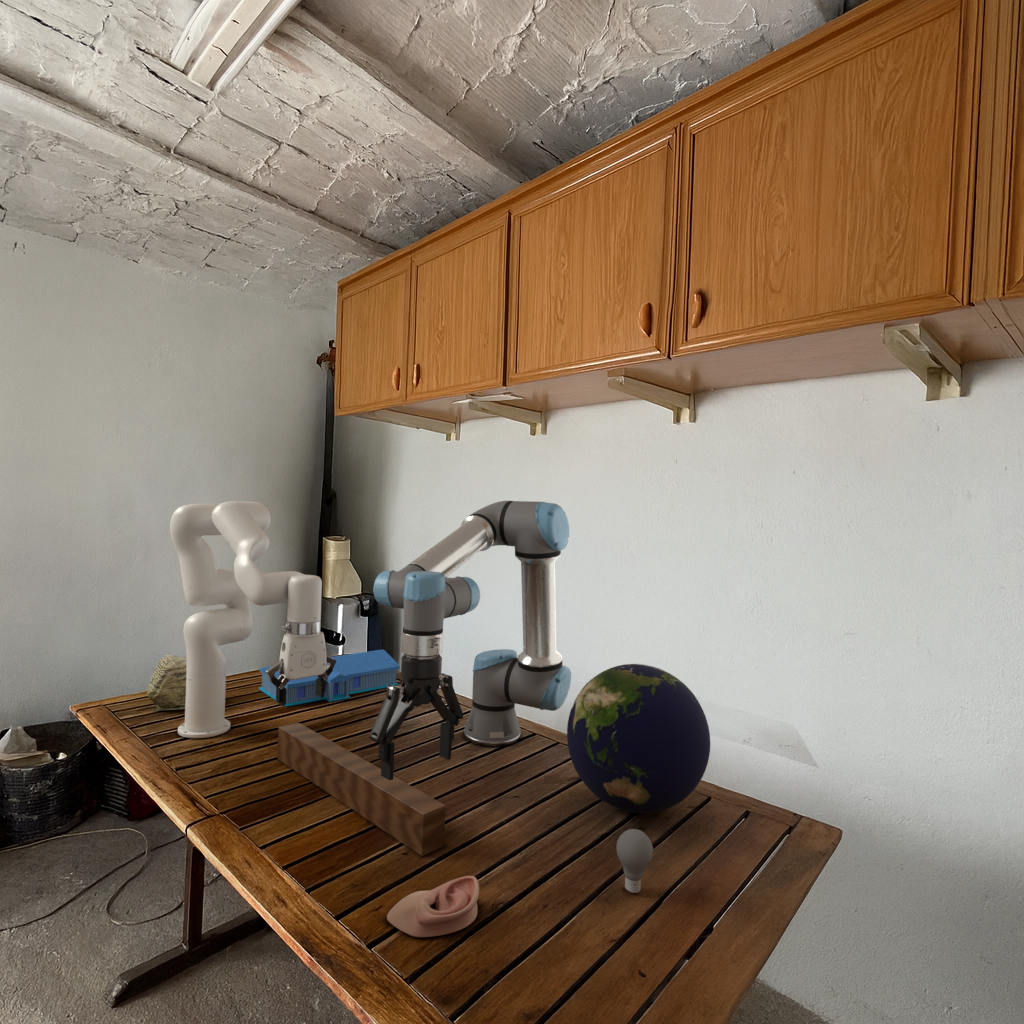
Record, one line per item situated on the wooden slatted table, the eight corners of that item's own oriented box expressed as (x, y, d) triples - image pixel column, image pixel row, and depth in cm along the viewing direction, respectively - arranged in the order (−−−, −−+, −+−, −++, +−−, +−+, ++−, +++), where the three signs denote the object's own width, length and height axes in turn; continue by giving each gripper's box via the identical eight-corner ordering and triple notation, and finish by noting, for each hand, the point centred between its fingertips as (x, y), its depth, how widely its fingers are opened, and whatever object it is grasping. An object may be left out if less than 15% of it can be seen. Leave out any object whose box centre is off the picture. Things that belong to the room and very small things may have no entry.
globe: (544, 820, 127) (551, 672, 127) (585, 765, 155) (590, 643, 155) (698, 858, 116) (706, 696, 116) (712, 791, 144) (719, 660, 143)
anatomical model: (379, 903, 93) (407, 860, 104) (378, 930, 93) (406, 884, 105) (466, 919, 91) (485, 873, 102) (464, 947, 91) (484, 898, 102)
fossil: (144, 707, 182) (145, 655, 182) (212, 696, 194) (213, 647, 194) (151, 716, 175) (153, 662, 175) (221, 703, 188) (223, 653, 188)
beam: (277, 758, 152) (278, 727, 152) (297, 753, 156) (298, 722, 155) (421, 856, 113) (423, 814, 113) (443, 846, 117) (445, 805, 117)
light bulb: (610, 879, 108) (613, 822, 108) (644, 879, 109) (647, 822, 109) (619, 902, 102) (622, 840, 102) (655, 901, 103) (658, 840, 103)
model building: (289, 709, 186) (291, 675, 185) (258, 688, 204) (259, 657, 204) (403, 687, 212) (405, 657, 212) (366, 670, 230) (368, 643, 230)
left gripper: (275, 635, 140) (272, 712, 140) (344, 626, 153) (342, 697, 153) (260, 629, 145) (258, 703, 146) (328, 621, 158) (326, 689, 158)
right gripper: (377, 669, 107) (372, 794, 107) (483, 649, 125) (479, 755, 125) (352, 660, 112) (348, 779, 112) (458, 642, 130) (454, 744, 130)
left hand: (301, 700), depth 149 cm, fingers open, 9 cm apart
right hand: (417, 767), depth 119 cm, fingers open, 13 cm apart
